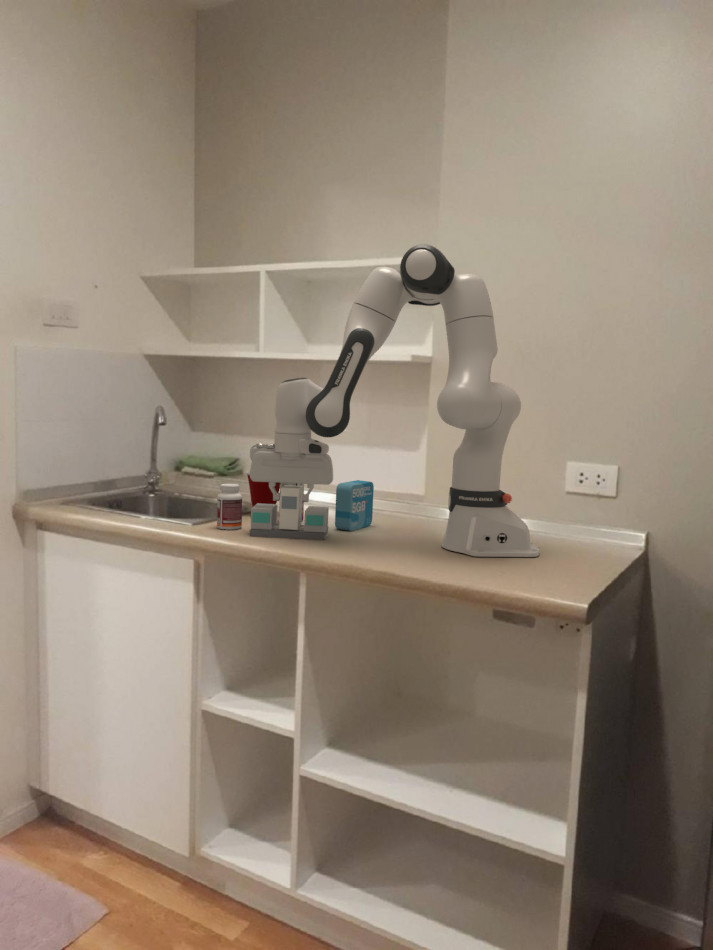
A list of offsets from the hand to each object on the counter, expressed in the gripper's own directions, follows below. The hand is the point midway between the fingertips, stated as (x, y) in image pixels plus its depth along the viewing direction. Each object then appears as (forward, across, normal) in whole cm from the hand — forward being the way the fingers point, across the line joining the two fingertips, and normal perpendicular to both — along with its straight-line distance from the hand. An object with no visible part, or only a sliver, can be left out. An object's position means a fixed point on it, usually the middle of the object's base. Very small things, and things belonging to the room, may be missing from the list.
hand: (291, 501), depth 182 cm
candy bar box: (+8, -2, +16) cm, 18 cm away
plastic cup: (+8, -11, +26) cm, 29 cm away
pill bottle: (+8, -16, +4) cm, 19 cm away
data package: (+8, +15, +13) cm, 22 cm away
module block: (+6, 0, 0) cm, 6 cm away
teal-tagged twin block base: (+8, 0, 0) cm, 8 cm away
